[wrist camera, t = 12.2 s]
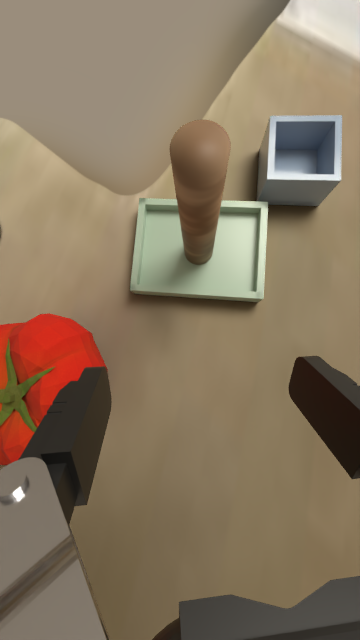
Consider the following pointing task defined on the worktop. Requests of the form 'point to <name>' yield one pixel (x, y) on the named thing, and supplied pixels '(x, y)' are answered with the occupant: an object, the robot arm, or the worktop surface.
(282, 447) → the worktop surface
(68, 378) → the tomato
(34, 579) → the robot arm
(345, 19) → the worktop surface
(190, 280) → the tray
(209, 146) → the dowel
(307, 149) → the pale blue open box
